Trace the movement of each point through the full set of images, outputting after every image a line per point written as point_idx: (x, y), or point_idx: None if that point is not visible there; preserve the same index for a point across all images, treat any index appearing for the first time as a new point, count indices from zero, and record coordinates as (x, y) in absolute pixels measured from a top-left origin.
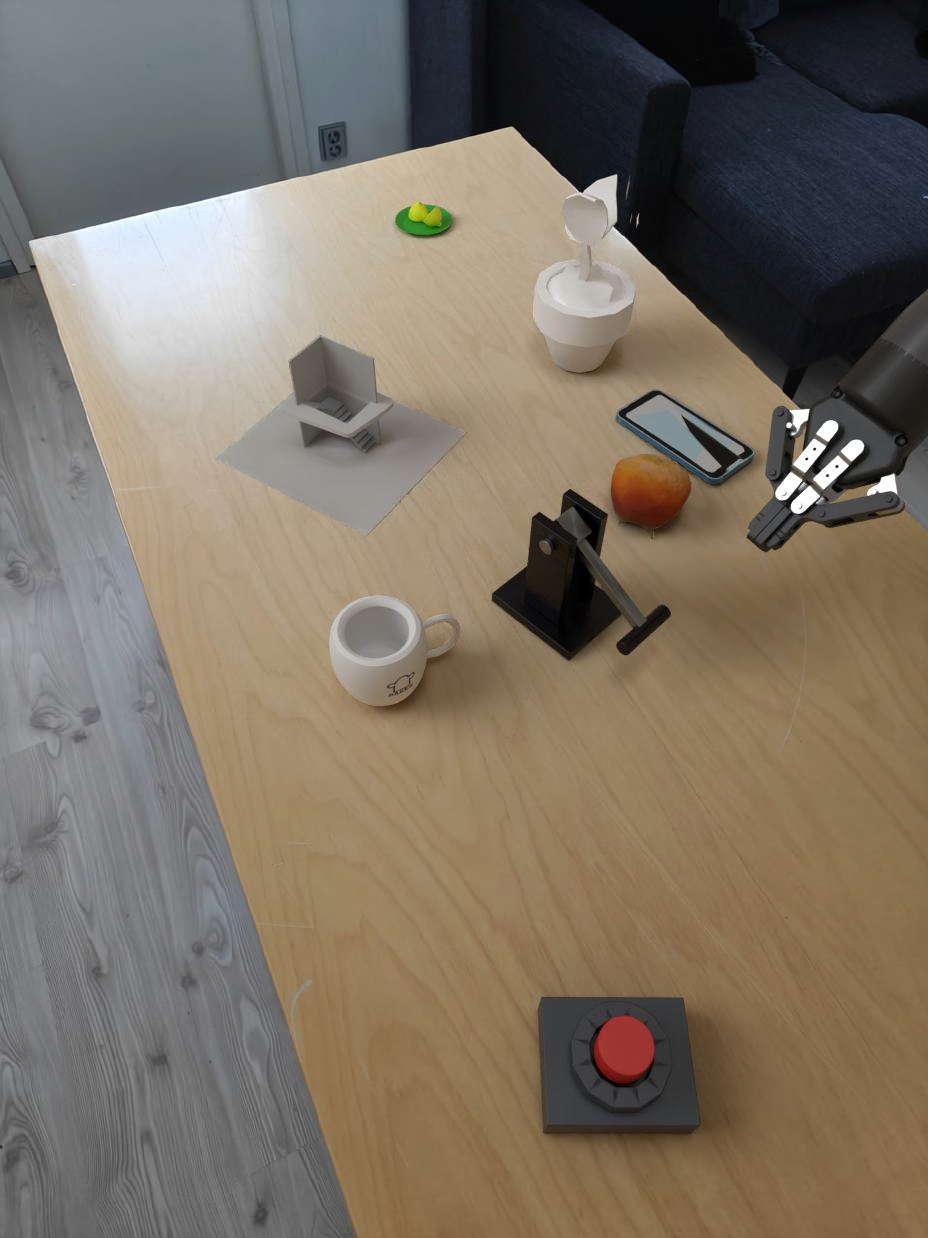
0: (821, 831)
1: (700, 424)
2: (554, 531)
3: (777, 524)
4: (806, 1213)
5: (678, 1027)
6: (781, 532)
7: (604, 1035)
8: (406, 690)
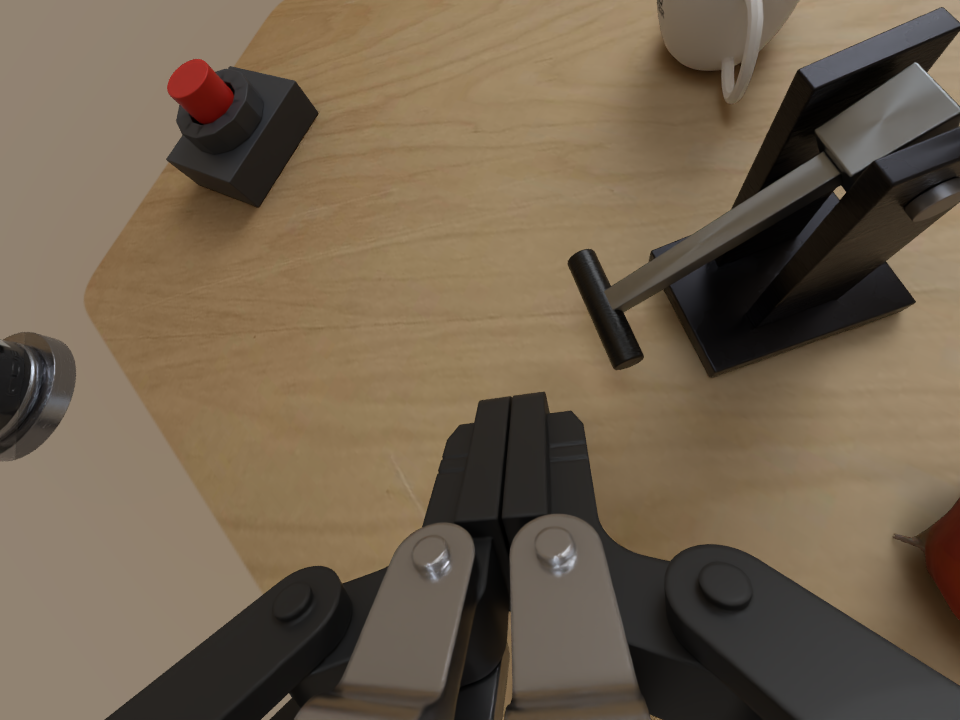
0: (292, 430)
1: None
2: (862, 46)
3: (473, 460)
4: (126, 234)
5: (216, 169)
6: (455, 471)
7: (202, 64)
8: (660, 14)
